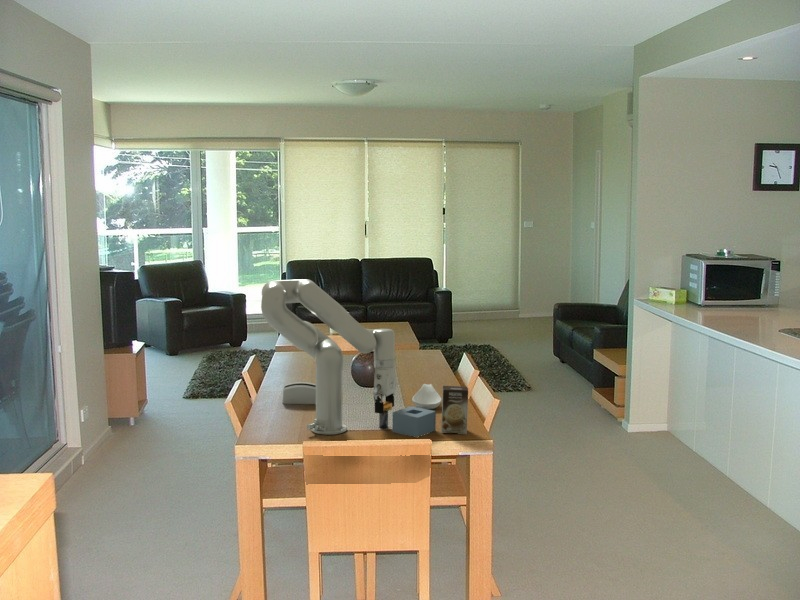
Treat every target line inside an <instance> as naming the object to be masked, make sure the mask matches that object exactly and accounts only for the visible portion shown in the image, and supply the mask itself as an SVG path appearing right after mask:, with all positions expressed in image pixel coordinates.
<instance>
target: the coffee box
mask: <svg viewBox="0 0 800 600" xmlns="http://www.w3.org/2000/svg"><path fill="white" fill-rule="evenodd" d="M441 399H442V401H441V405H442V406H441V422H440V423H441V425H440V426H441V428H440V431H441V434H443V433H458V434H457V435H467V434H468V409H469V407H468V406H469V404H468V403H469V388H468V386H460V385H459V386H458V385H442V397H441Z"/></svg>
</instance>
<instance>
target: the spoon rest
mask: <svg viewBox="0 0 800 600" xmlns="http://www.w3.org/2000/svg"><path fill="white" fill-rule="evenodd" d="M411 401H412V403H413V404H414V406H415V407H418V408H423V409H427V410H434V409H436V408H438V407H439V406H440V405H441V404H442V397H441V395H440V394H439V393H438V392H437V390H436V389H435V387H434V386H433V384H432V383H430V384H428V383H427V384H426V383H423V384H422V386H421V388H419V390H418V391H416V392H415V394H414V395H413V397H412V398H411Z"/></svg>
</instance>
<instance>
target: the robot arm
mask: <svg viewBox="0 0 800 600" xmlns="http://www.w3.org/2000/svg"><path fill="white" fill-rule="evenodd" d="M296 303H297V304H298V303H300V304H301V305H303V307H304V308H305V309H307V310H308V311H309V312H311V314H312V315H315V317H317V318H318V319H319V320H320V322H323V323H324V324H325V325H326V326H328V328H329V329H331V330H333V331H334V332H335V333H337V334H338V335H339V336H340V337H342V339H344V340H345V341H346V342H347V343H348V344H349V345H351V346H352V347H354V349H356V350H357V351H358V352H360V353H362V354H369V353H371V352H373V368H374V376H373V377H374V380H373V393H372V394H373V401H374V413H375V414H379V413H381V414H382V413H384V404H383V401H384V399H385V401H388V402H391V403H392V408H394V407H395V392H396V390H397V379H396V377H397V376H396V369H395V367H396V357H395V356H396V354H395V353H396V350H395V349H396V348H395V347H396V345H395V344H396V343H395V341H396V339H395V337H396V335H395V333H396V332H395V331H394V330H393V329H391V328H376V329H373V328H365V327H364V326H363V325H362V324H361V323H359V321H357V320H356V319H355V318H354V317H353V316H352V315H351V314H350V313H349V311H347V309H345V307H344V306H342V305H341V304H340V303H339V302H338V301H336V300H335V299H334V298H333V297H332V296H331V295H329V293H327V292H326V291H325V290H323V289H322V288H321V287H320V286H318V285H317V284H316V282H314V281H313V280H311V279H306V278H305V279H303V278H302V279H279V280H278V279H277V280H276V279H275V280H270V281H267V282H266V283H265V284H264V285H263V287H262V288H261V304H260V305H261V306H260V308H261V313H262V316H263V318H264V320H265V321H266V323H267V324H268V325H269V326H270V327H271V328H272V329H274V331H276V332H277V333H279V334H280V335H281V336H282V337H283V338H284V339H285V340H286V341H289V343H291V344H292V345H293V346H294V347H295V348H297V350H300V351H304V352H305V353H306V354H308V355H309V356H311V357H312V358H313V359H314V360H315V384H316V404H315V418H314V419H313V422H312V423H309V424H307V425H306V429H307V430H308V431H310V430H311V431H312V433H315V434H318V435H325V436H327V435H329V436H330V435H331V436H332V435H339V434H342V433H345V432H346V431H347V430H348V426H347V425H346V424H344V423H343V371H344V353H343V350H342V349H341V347H340V346H339V344H338V343H337V342H336V341H335V340H334V339H332V338H331V337H329V336H328V335H327V334H325V333H324V332H323V331H322V330H320V329H319V328H318V327H317V326H315V325H314V324H312V322H310V321H307V320H303V319H301V318H300V317H299V316H297V315H296V314H295V313H294V312H292V311H291V310H290V309H289V308H288V306H287V304H296ZM384 397H385V398H384Z"/></svg>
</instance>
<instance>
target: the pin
mask: <svg viewBox="0 0 800 600" xmlns="http://www.w3.org/2000/svg"><path fill="white" fill-rule="evenodd" d="M383 404H384V413H382V414H381V413H378V416H379V420H378V428H379V429H383V430H384V429H388V428H389V411H392V410H393V407H392V403H391V402H388V401H386V400H385V401H384V400H383Z"/></svg>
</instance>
